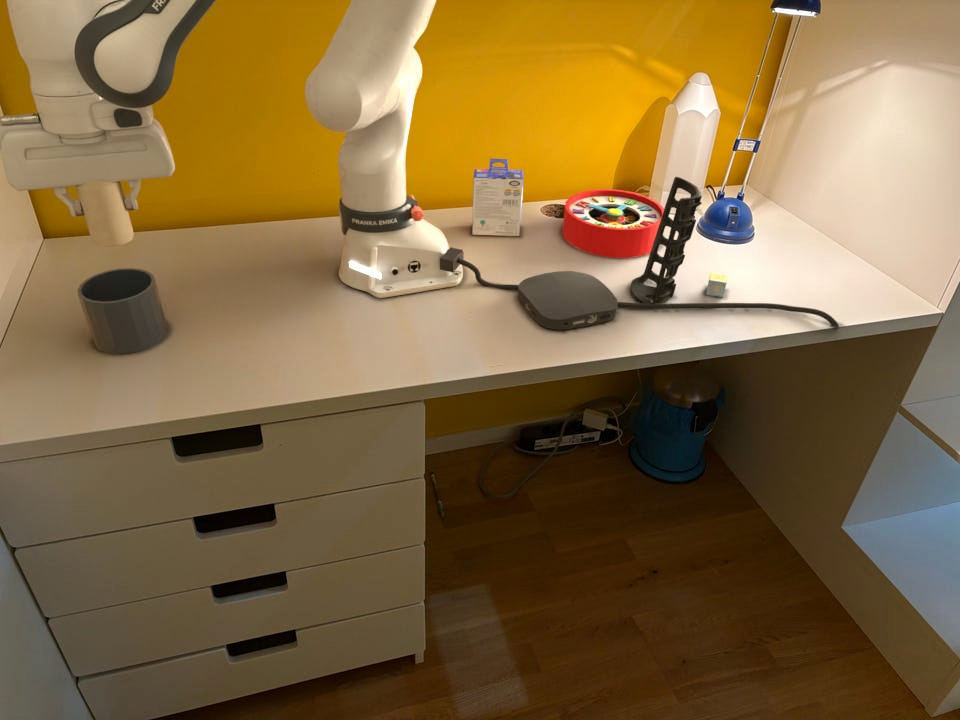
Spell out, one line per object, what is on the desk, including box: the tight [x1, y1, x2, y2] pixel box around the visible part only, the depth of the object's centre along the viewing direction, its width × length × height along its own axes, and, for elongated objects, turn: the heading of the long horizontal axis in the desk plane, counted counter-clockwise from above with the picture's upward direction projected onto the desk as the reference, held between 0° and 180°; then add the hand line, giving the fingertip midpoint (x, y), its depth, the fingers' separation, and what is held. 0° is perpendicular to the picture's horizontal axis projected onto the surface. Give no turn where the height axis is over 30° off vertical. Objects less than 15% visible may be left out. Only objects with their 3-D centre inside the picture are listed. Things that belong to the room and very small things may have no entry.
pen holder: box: [77, 267, 168, 355], centre depth 111 cm, size 11×11×9 cm
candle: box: [75, 181, 135, 248], centre depth 100 cm, size 6×6×10 cm
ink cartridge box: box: [471, 158, 524, 237], centre depth 145 cm, size 10×6×14 cm, turn 89°
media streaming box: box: [517, 270, 619, 331], centre depth 124 cm, size 15×15×3 cm
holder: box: [629, 176, 703, 304], centre depth 124 cm, size 11×8×20 cm
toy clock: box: [561, 188, 665, 259], centre depth 147 cm, size 20×6×20 cm
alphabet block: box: [705, 272, 729, 298], centre depth 129 cm, size 3×3×3 cm
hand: (106, 211), depth 101 cm, fingers closed on candle, 5 cm apart
